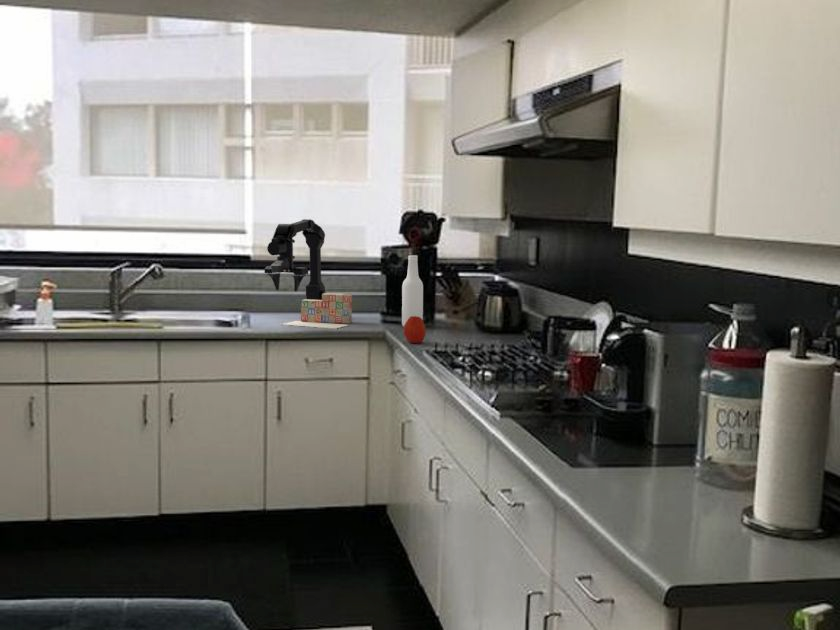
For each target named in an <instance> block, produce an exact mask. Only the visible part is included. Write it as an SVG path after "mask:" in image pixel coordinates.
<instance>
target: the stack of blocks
mask: <svg viewBox="0 0 840 630" xmlns="http://www.w3.org/2000/svg"><path fill="white" fill-rule="evenodd" d="M352 311H353V294H347V293H330V292H329V293H324V294H322V300H309V299H307V298H306V299H301V302H300V321H304V322H318V323H332V324H347V325H349V324H351V323H352V320H353V319H352V316H353V312H352Z"/></svg>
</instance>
